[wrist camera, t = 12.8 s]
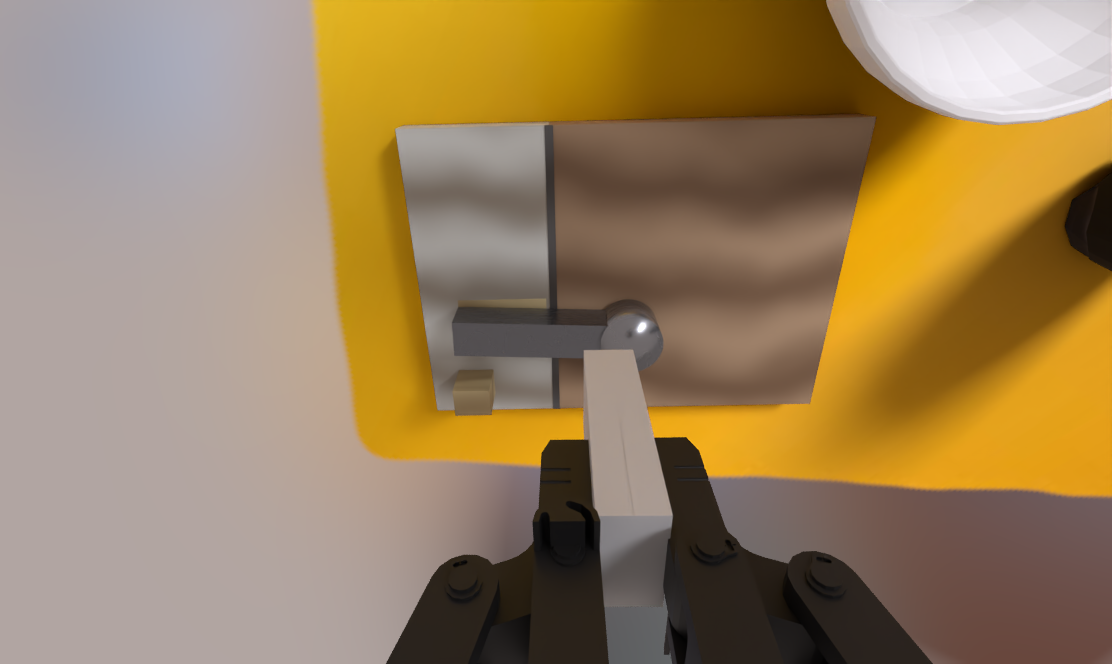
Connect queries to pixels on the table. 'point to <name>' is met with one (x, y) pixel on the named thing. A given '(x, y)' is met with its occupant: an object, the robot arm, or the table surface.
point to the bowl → (985, 54)
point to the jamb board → (637, 246)
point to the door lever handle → (558, 332)
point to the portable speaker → (1093, 223)
